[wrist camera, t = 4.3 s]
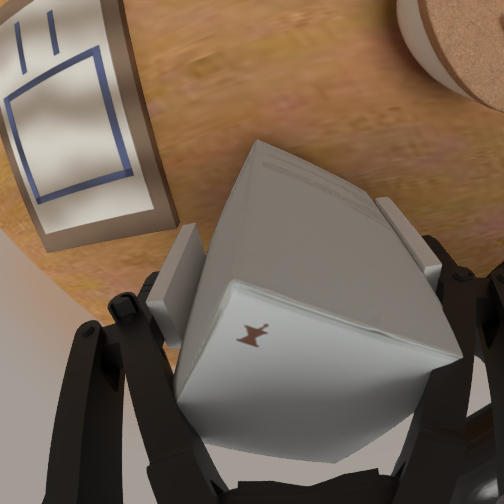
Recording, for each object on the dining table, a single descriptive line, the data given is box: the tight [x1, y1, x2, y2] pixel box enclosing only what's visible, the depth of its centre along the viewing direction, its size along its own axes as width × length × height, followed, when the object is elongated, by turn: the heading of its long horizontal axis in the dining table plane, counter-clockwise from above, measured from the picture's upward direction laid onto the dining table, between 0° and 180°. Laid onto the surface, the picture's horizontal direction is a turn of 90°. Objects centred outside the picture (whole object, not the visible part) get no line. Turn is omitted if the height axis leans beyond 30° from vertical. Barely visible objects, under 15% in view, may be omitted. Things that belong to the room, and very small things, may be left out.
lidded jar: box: [396, 0, 504, 113], centre depth 11 cm, size 11×11×9 cm
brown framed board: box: [0, 0, 180, 253], centre depth 19 cm, size 24×14×1 cm, turn 10°
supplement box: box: [173, 139, 463, 463], centre depth 13 cm, size 7×7×13 cm
